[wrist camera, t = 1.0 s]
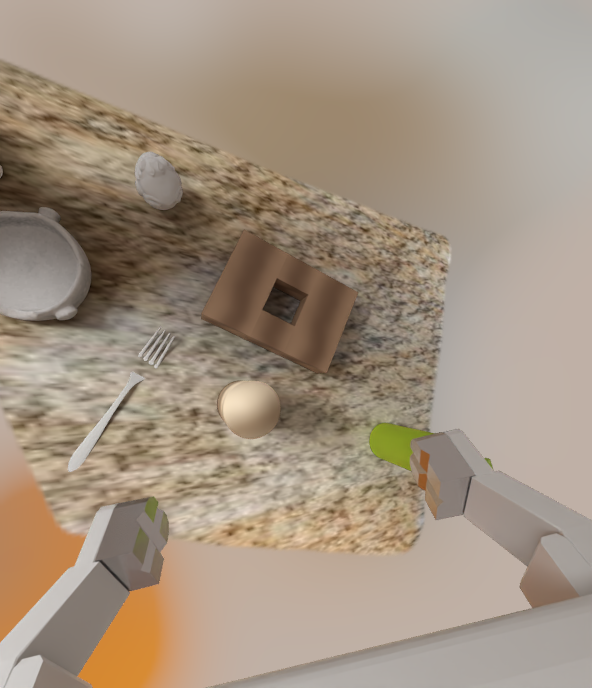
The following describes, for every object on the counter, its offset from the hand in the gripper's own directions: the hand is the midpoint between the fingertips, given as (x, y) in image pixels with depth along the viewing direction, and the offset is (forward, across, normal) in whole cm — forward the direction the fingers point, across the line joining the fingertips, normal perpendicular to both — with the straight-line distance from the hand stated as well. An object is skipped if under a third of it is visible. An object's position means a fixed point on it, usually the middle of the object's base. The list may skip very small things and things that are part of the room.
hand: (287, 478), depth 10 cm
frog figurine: (+48, +13, -5) cm, 50 cm away
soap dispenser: (+30, -14, +36) cm, 48 cm away
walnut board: (+41, -1, +13) cm, 43 cm away
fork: (+30, +23, +18) cm, 42 cm away
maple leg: (+31, +8, +22) cm, 39 cm away
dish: (+40, +30, 0) cm, 49 cm away
